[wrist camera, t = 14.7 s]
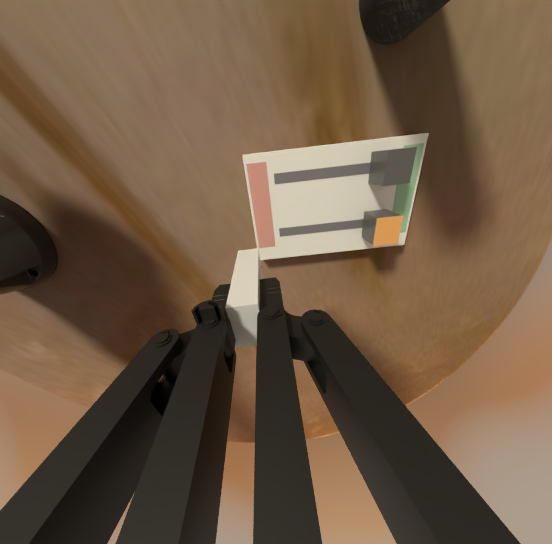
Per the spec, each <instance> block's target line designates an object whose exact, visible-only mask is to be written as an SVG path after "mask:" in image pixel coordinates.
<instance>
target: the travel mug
mask: <svg viewBox="0 0 552 544" xmlns="http://www.w3.org/2000/svg"><path fill="white" fill-rule="evenodd" d="M449 1H450V0H359V10H360V17H361V21H362V24H363V26H364V29H365V30H366V32H367V34H368V35H369V36H370V37H371V38H372V39H373V40H375V41H376V42H379V43H383V44H390V43H394V42H397V41H399V40H401V39H403V38H404V37H406V36H407V35H408V34H410V33H411V32H412V31H414V30H415V29H416V28H417V27H418V26H420V25H421V24H422V23H423V22H425V21H426V20H427V19H428V18H429V17H431V16H432V15H433V14H434V13H435V12H437V11H438V10H439V9H440V8H441V7H443V6H444V5H445V4H446V3H447V2H449Z"/></svg>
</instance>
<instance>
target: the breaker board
mask: <svg viewBox="0 0 552 544" xmlns="http://www.w3.org/2000/svg"><path fill="white" fill-rule="evenodd" d="M428 134H429V133H422V134H414V135H406V136H397V137H389V138H380V139H372V140H363V141H355V142H347V143H338V144H330V145H321V146H313V147H305V148H296V149H288V150H279V151H271V152H262V153H254V154H246V155H242V156H243V162H244V168H245V174H246V181H247V187H248V193H249V200H250V206H251V212H252V218H253V225H254V231H255V237H256V244H257V248H258V249H259V255H260V260H267V259H276V258H285V257H295V256H304V255H313V254H323V253H332V252H341V251H350V250H360V249H369V248H378V247H388V246H397V245H404V244H405V239H406V234H407V230H408V225H409V221H410V216H411V212H412V207H413V203H414V198H415V193H416V189H417V184H418V180H419V175H420V171H421V166H422V162H423V157H424V152H425V148H426V143H427V139H428ZM383 209H387V210H390V211H392V212H395V213H397V214H400V215H402V216H403V220H402V225H401V230H400V235H399V240H398V244H390V245H381V246H373V245H372V244H371V243H369V242H368V241H367V240H366V239H364V238H363V237H362V227H363V218H364V212H365V211H374V210H383Z"/></svg>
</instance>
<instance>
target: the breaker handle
mask: <svg viewBox="0 0 552 544" xmlns="http://www.w3.org/2000/svg"><path fill="white" fill-rule="evenodd" d="M402 220H403V216H402V215H400V214H397V213H395V212H392V211H390V210H387V209H383V210H374V211H365V212H364V218H363V227H362V237H363V238H364V239H366V240H367V241H368V242H369V243H371V244H372V245H373V246H381V245H390V244H398V240H399V235H400V230H401V225H402Z"/></svg>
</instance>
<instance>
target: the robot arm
mask: <svg viewBox="0 0 552 544" xmlns="http://www.w3.org/2000/svg"><path fill="white" fill-rule="evenodd" d="M56 265H57V255H56V251H55V248H54V245H53V243H52V241H51V239H50V238H49V236H48V235H47V233H46V232H45V230H44V229H43V228H42V227H41V226H40V224H39V223H38V222H37V221H36V220H35V219H34V218H33V217H32V216H30V215H29V214H28V213H27V212H26V211H24V210H23V209H22V208H20V207H19V206H18V205H16V204H15V203H13V202H11V201H10V200H8V199H6V198H4V197H3V196H1V195H0V294H4V293H9V292H13V291H18V290H22V289H26V288H29V287H32V286H34V285H36V284H38V283H40V282H41V281H43V280H45V279H47V278H48V277H50V276H51V275H52V274H53V272H54V271H55V268H56ZM192 313H193V316H194V318H195V321H196V323H197V326H196V328H195V329H193V330H191V331H188V332H185V333H183V334H180V335H179V333H178V332H177V330H174V329H168V330H164V331H161V332H159V333H158V334H156V335H155V336H153V337H152V338H151V339H150V340H149V341H148V343H147V344H146V345H145V346H144V347H143V348H142V349H141V351H140V352H139V353H138V354H137V355H136V356H135V357H134V359H133V360H132V361H131V362H130V363H129V364H128V365H127V367H126V368H125V369H124V370H123V371H122V372H121V373H120V375H119V376H118V377H117V378H116V379H115V380H114V381H113V383H112V384H111V385H110V386H109V387H108V388H107V389H106V391H105V392H104V393H103V394H102V395H101V396H100V397H99V399H98V400H97V401H96V402H95V403H94V404H93V405H92V407H91V408H90V409H89V410H88V411H87V412H86V413H85V415H84V416H83V417H82V418H81V419H80V420H79V421H78V423H77V424H76V425H75V426H74V427H73V428H72V429H71V431H70V432H69V433H68V434H67V435H66V436H65V437H64V439H63V440H62V441H61V442H60V443H59V444H58V446H57V447H56V448H55V449H54V450H53V451H52V452H51V453H50V454H49V456H48V457H47V458H46V459H45V460H44V461H43V463H42V464H41V465H40V466H39V467H38V468H37V470H36V471H35V472H34V473H33V474H32V475H31V476H30V477H29V478H28V480H27V481H26V482H25V483H24V484H23V485H22V487H21V488H20V489H19V490H18V491H17V492H16V493H15V495H14V496H13V497H12V498H11V499H10V500H9V501H8V503H7V504H6V505H5V506H4V507H3V508H2V509H1V510H0V544H107V543H108V541H109V539H110V537H111V535H112V533H113V532H114V530H115V528H116V526H117V524H118V522H119V520H120V518H121V517H122V515H123V513H124V511H125V509H126V507H127V505H128V503H129V501H130V499H131V498H132V496H133V494H134V496H133V498H132V501H131V504H130V507H129V509H128V512H127V515H126V518H125V520H124V523H123V525H122V528H121V531H120V534H119V536H118V539H117V542H116V544H215V542H216V533H217V524H218V515H219V506H220V497H221V488H222V479H223V471H224V462H225V452H226V444H227V435H228V426H229V417H230V409H231V400H232V391H233V382H234V373H235V364H236V352H235V349H234V348H235V342H236V345H237V348H242V347H249V346H257V356H256V414H255V472H254V474H255V475H254V529H253V531H254V532H253V544H322V540H321V534H320V527H319V522H318V515H317V509H316V502H315V496H314V490H313V484H312V478H311V472H310V465H309V459H308V453H307V447H306V440H305V434H304V428H303V422H302V416H301V409H300V403H299V397H298V391H297V385H296V378H295V372H294V366H293V360H292V359H296V360H302V361H304V363H305V365H306V367H307V369H308V371H309V373H310V375H311V377H312V378H313V380H314V382H315V384H316V386H317V388H318V390H319V392H320V394H321V396H322V398H323V400H324V402H325V404H326V406H327V408H328V410H329V412H330V414H331V416H332V418H333V420H334V422H335V424H336V425H337V427H338V429H339V431H340V433H341V435H342V437H343V439H344V441H345V443H346V445H347V447H348V449H349V451H350V452H351V455H352V457H353V459H354V461H355V463H356V465H357V466H358V469H359V470H360V472H361V474H362V476H363V478H364V480H365V482H366V484H367V486H368V488H369V490H370V492H371V494H372V496H373V498H374V500H375V502H376V504H377V506H378V508H379V510H380V511H381V514H382V515H383V517H384V520H385V521H386V523H387V525H388V527H389V529H390V531H391V533H392V535H393V537H394V539H395V541H396V543H397V544H520V543H519V541H518V540H517V539H516V538H515V537H514V535H513V534H512V533H511V532H510V531H509V530H508V528H507V527H506V526H505V525H504V523H503V522H502V521H501V520H500V519H499V517H498V516H497V515H496V514H495V513H494V511H493V510H492V509H491V508H490V507H489V505H487V503H486V502H485V501H484V500H483V498H482V497H481V496H480V495H479V494H478V492H477V491H476V490H475V489H474V488H473V486H472V485H471V484H470V483H469V482H468V480H467V479H466V478H465V477H464V476H463V474H462V473H461V472H460V471H459V470H458V468H457V467H456V466H455V465H454V464H453V462H451V460H450V459H449V458H448V457H447V455H446V454H445V453H444V452H443V451H442V449H441V448H440V447H439V446H438V445H437V444H436V442H435V441H434V440H433V439H432V437H431V436H430V435H429V434H428V433H427V431H426V430H425V429H424V428H423V427H422V426H421V424H420V423H419V422H418V421H417V419H416V418H415V417H414V416H413V415H412V414H411V412H410V411H409V410H408V409H407V408H406V406H405V405H404V404H403V403H402V402H401V400H400V399H399V398H398V397H397V396H396V394H395V393H394V392H393V391H392V390H391V388H390V387H389V386H388V385H387V384H386V382H385V381H384V380H383V379H382V378H381V376H380V375H379V374H378V373H377V372H376V370H375V369H374V368H373V367H372V366H371V365H370V363H369V362H368V361H367V360H366V359H365V357H364V356H363V355H362V354H361V353H360V351H359V350H358V349H357V348H356V347H355V345H354V344H353V343H352V342H351V341H350V339H349V338H348V337H347V336H346V335H345V333H344V332H343V331H342V330H341V329H340V327H339V326H338V325H337V324H336V323H335V322H334V320H333V319H332V318H331V317H330V316H329V315H328V314H327V313H326V312H324V311H321V310H309V311H307V312H305V313H304V314H303V315H302V317H300V316H294V315H291V314H289V313H287V312H286V311H285V310H284V307H283V301H282V295H281V289H280V282H279V281H278V280H277V279H276V278H268V279H263V274H262V268H261V262H260V255H259V249H258V248H257V249H249V250H241V251H238V254H237V259H236V263H235V268H234V272H233V277H232V281H231V284H225V285H219V287H218V288H217V289H216V290H215V291H214V294H213V297H212V300H208V301H204V302H202V303H200V304H198V305H197V306H195V307H194V308H193V310H192ZM162 375H163V378H162V379H161V380H160V381H159V379H160V378H161V376H162ZM158 381H159V382H158ZM134 492H135V493H134Z"/></svg>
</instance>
